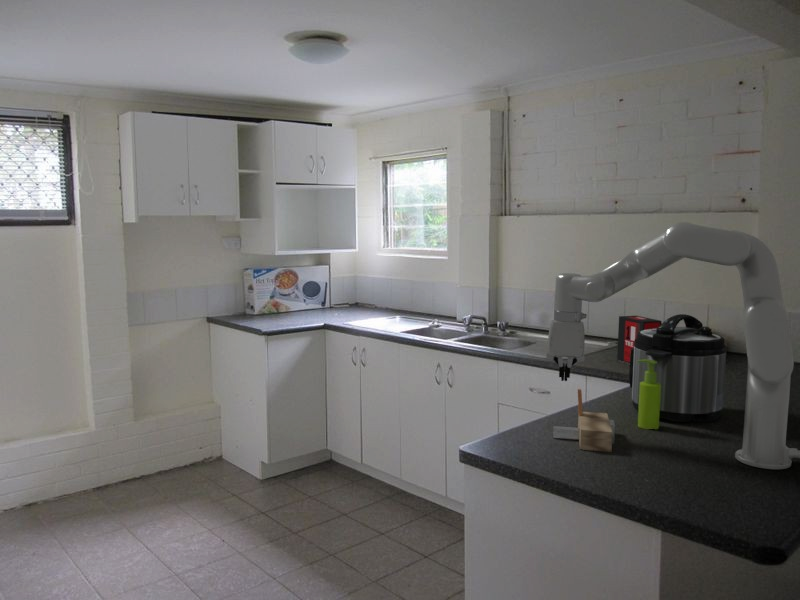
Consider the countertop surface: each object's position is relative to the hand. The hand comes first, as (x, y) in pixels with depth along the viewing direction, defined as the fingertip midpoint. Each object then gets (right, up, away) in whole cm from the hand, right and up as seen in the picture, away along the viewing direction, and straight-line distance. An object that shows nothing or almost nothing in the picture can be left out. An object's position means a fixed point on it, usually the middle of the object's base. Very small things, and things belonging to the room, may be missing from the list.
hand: (564, 379), depth 192 cm
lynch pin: (+4, -16, -5) cm, 17 cm away
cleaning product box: (+55, -5, +94) cm, 109 cm away
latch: (+5, -6, -1) cm, 8 cm away
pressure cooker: (+40, -13, +22) cm, 48 cm away
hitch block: (+7, -16, -6) cm, 18 cm away
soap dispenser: (+26, -15, +7) cm, 31 cm away
